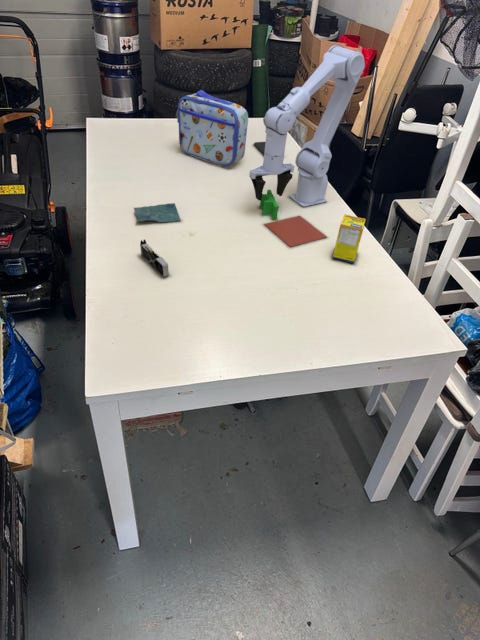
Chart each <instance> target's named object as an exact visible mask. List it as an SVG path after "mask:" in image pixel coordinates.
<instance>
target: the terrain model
mask: <svg viewBox="0 0 480 640" xmlns="http://www.w3.org/2000/svg"><path fill="white" fill-rule="evenodd" d="M133 210H134V214H135V217H136V222H145V221H153V222H158V223H167V222H173V223H174V222H179V221H181V217H180V215H179V211H178V209H177V206H176V203H174V202H172V203H164V204H163V203H162V204H156V205H149V206H141V207H133Z"/></svg>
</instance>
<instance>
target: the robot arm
mask: <svg viewBox="0 0 480 640" xmlns="http://www.w3.org/2000/svg"><path fill="white" fill-rule="evenodd" d="M365 67H366V63H365V58H364V55H363V53H362V52H361V51H355V50H352V49H349V48H346V47H342V46H340V45H337V44H334V45H332V46H331V47H330V48H329V49H328V50H327V51H326V52H325V53H324V54H323V56H322V62H321V63H320V65H318V67H317V68H316V69H315V70H314V72H313V73H312V74H311V75H310V76H309V78H308V79H307V80H306V81H305V82H304V84H303V85H302V86H295V87H294V88H292V89H291V90H290V92H289V93H288V94H287V95H286V96H285V97H284V98H283V99H282V100H281V101H280V102H279V103H278V105H277V106H273V107H270V108H269V109H268V110H266V113H265V115H264V117H263V118H262V119H263V120H262V121H263V125H264V127H265V131H264V132H265V141H264V142H265V152H264V155H263V161H262V162H263V163H262V165H261V166H258V167H256V168H253V169H250V170H249V173H248V177H249V178H250V180H251V182H252V186H253V190H254V194H255V195H254V196H255V199H256V200H258V201H259V202H260V200H261V199H262V194H263V192H264V188H265V185H266V183H267V182H266V181H265V180H264V177H266V176H276V177H277V179H276V180H277V181H276V195H278V196H279V197H282V196H283V194H284V193H285V190H286V188H287V186H288V184H289V182H290V181H291V180H292V179H293V176H294V175H293V174H292V173H293V172H294V171H295V166H296V167H297V172H298V176H297V183H296V188H295V193H293V194H289V198H291V199H292V200H293V201H295V202H296V203H297V204H298V205H300V206H301V207H303V208H304V207H309V206H313V205H314V206H315V205H318V204H322V203H326V201H327V200H326V199H325V198H326V195H327V194H326V193H327V188H328V184H329V182H328V181H329V179H328V175H327V173H328V171H329V168H330V163H331V159H332V157H333V156H332V152H331V150H330V148H329V147H330V144H331V143H332V140H333V138H334V136H335V133H336V131H337V129H338V128H339V125H340V123H341V121H342V118H343V116H344V113H345V112H346V110H347V107H348V105H349V103H350V101H351V98H352V96H353V94H354V92H355V90H356V87H357V85H358V83H359V80H360V78H361V76H362V75H363V72H364V70H365ZM331 79H332V80H333V82H334V89H333V91H332V94H331V96H330V98H329V100H328V103H327V105H326V108H325V109H324V112H323V114H322V116H321V119H320V121H319V123H318V125H317V128H316V130H315V132H314V135H313V137H312V138H311V139H310V140H308V141H306V142H304V144H303V146H302V147H301V149H300V150H299V152H297V154H296V155H295V165H294V164H292V163H291V162H289V163H284V158H285V152H286V144H287V136H288V133H289V132H290V131H291V130H292V128H293V126H294V123H295V121H296V120H297V117H299V115H301V113H302V112H303V111H304V110H305V109H306V108H307V107H308V106H309V104H310V102H311V97H312V96H313V95H314V94H315V93H316V92H317V91H318V90H319V89H321V88H322V87H323V86H324V85H325V84H327V82H328V81H329V80H331ZM294 173H295V172H294Z"/></svg>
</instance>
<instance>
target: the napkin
mask: <svg viewBox="0 0 480 640" xmlns="http://www.w3.org/2000/svg"><path fill="white" fill-rule="evenodd" d="M264 226H265V227H266V228H267V229H269V230H270V232H272V233H273V234H274V235H275V236H277V238H278V239H280V240H281V241H282V242H283V243H284V244H285V245H286V246H288V247H289V248H293V247H296V246H301V245H304V244H308V243H311V242H316V241H320V240H323V239H326V238H327V236H326V235H325V234H324V233H323V232H321V231H320V230H319V229H318V228H317V227H315V226H313V224H312V223H310V222H308V221H307V220H306V219H305V218H304V217H302V216H301V215H298V216H293V217H289V218H284V219H279V220H274V221H271V222H267V223H264Z"/></svg>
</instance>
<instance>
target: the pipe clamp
mask: <svg viewBox="0 0 480 640" xmlns="http://www.w3.org/2000/svg"><path fill="white" fill-rule="evenodd" d="M259 209H262V216H271V218H272V220H273V221H278V213H279V204H278V202H277V200H276V198H275V196H274V194H273V191H272V189H267V190H266V193H262V199H261V200H260V201H259Z"/></svg>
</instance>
